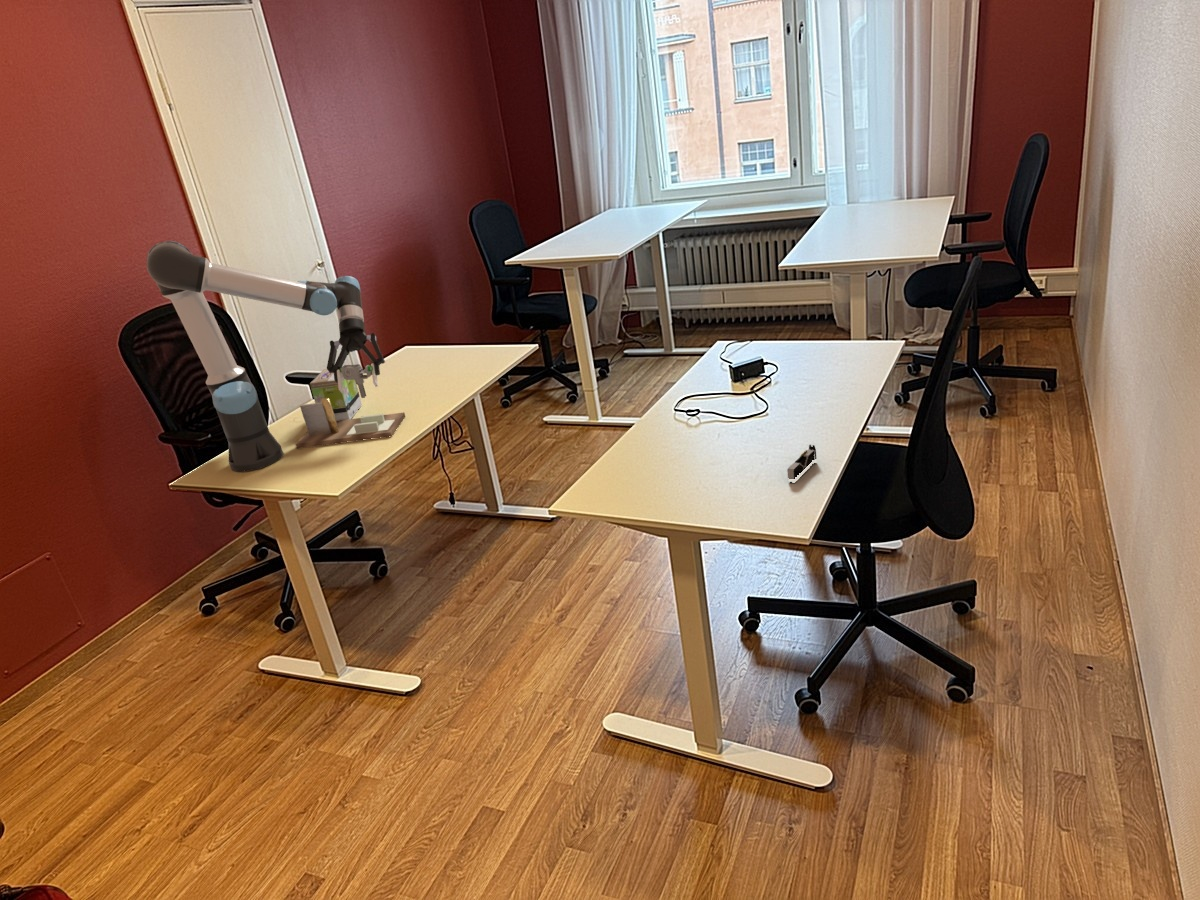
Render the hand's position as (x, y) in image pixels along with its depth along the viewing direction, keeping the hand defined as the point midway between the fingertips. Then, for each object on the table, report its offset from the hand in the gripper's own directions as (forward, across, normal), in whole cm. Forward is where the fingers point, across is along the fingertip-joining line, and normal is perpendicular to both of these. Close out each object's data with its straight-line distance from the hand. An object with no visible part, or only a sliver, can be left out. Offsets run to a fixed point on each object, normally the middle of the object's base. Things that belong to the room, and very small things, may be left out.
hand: (358, 387), depth 239 cm
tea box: (-6, +13, -28) cm, 32 cm away
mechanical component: (+1, 0, -5) cm, 5 cm away
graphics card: (+66, -108, +43) cm, 133 cm away
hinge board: (+7, +7, -15) cm, 18 cm away
